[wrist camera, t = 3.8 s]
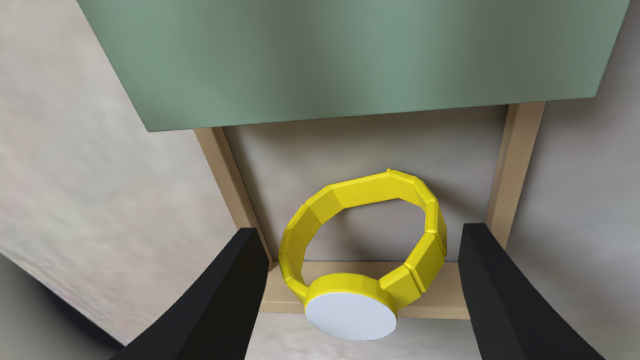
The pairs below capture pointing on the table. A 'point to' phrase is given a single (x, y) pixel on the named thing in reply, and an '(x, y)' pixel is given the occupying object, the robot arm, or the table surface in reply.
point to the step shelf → (355, 84)
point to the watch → (354, 289)
